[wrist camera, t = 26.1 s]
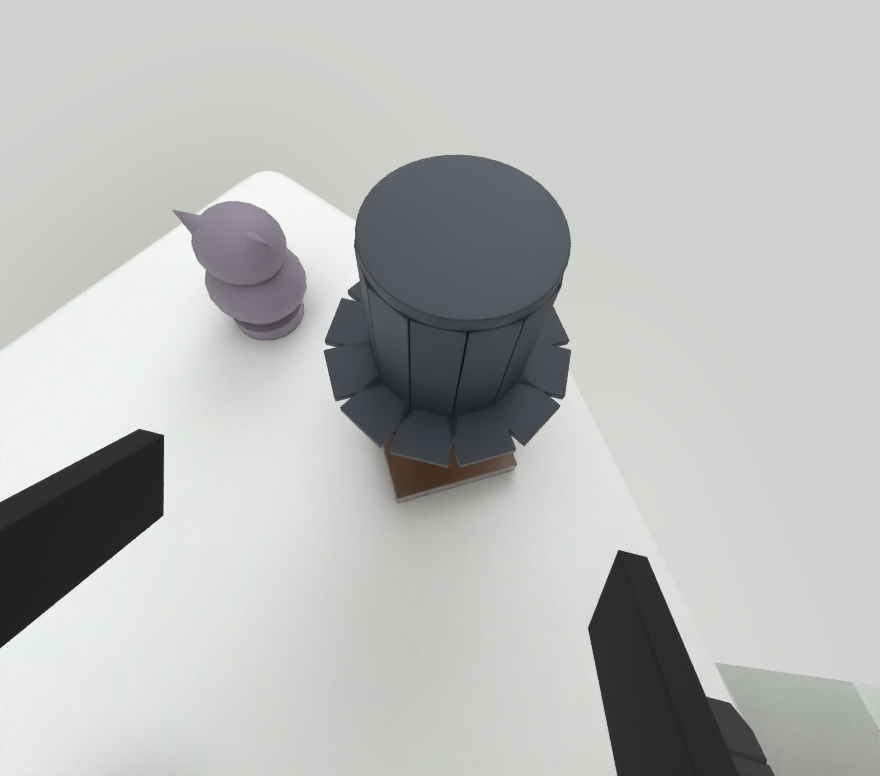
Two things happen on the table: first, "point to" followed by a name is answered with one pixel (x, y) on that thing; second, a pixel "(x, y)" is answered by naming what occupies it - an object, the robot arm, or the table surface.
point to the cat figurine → (248, 267)
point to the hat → (453, 311)
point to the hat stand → (438, 473)
